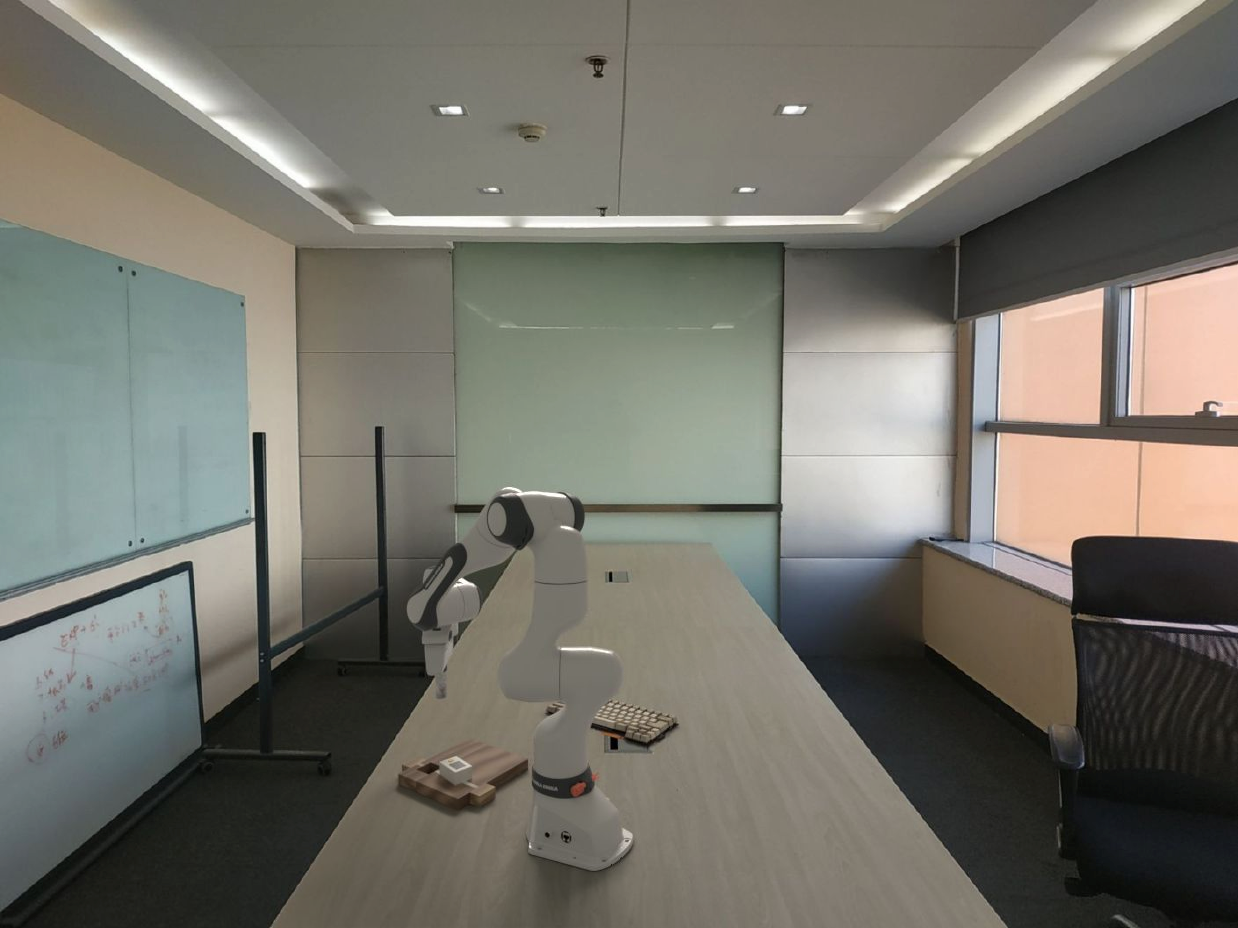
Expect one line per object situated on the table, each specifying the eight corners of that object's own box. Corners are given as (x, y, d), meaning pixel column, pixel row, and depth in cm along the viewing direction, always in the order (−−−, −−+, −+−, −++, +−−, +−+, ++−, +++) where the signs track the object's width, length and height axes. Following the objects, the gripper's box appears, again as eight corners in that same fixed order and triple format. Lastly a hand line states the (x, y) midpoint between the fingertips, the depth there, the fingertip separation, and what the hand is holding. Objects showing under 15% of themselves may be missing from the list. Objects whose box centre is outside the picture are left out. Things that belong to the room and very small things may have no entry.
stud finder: (472, 778, 169) (472, 765, 169) (455, 785, 166) (455, 771, 165) (456, 768, 174) (456, 755, 174) (439, 774, 171) (439, 761, 170)
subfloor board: (537, 772, 177) (537, 762, 177) (467, 814, 158) (467, 803, 158) (462, 744, 192) (461, 735, 192) (390, 780, 173) (389, 770, 173)
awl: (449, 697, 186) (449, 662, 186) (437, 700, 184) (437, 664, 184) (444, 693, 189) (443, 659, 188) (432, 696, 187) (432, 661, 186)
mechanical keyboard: (537, 718, 211) (537, 706, 210) (576, 697, 227) (576, 686, 227) (650, 751, 191) (650, 738, 190) (684, 725, 207) (684, 714, 206)
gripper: (434, 617, 196) (435, 667, 196) (420, 639, 175) (421, 695, 176) (458, 616, 196) (458, 667, 197) (447, 638, 176) (447, 695, 177)
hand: (441, 681), depth 186 cm, fingers closed on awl, 3 cm apart
